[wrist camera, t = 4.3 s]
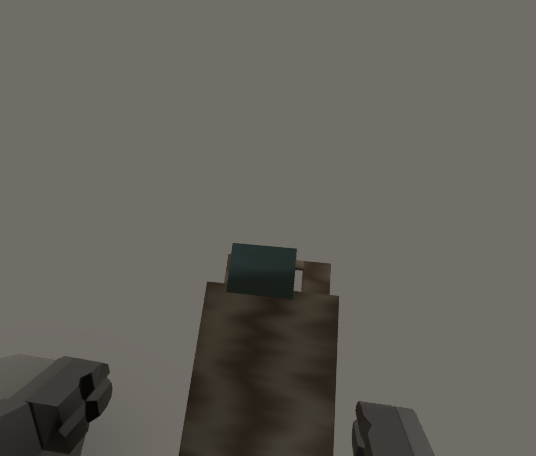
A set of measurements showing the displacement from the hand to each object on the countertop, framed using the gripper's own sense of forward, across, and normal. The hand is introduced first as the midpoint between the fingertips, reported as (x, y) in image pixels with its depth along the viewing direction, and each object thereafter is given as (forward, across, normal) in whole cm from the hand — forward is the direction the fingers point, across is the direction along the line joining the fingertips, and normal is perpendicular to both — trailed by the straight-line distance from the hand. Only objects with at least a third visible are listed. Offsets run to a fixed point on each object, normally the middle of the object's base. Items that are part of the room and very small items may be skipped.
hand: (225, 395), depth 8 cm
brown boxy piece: (+5, 0, +28) cm, 28 cm away
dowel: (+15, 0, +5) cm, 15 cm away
